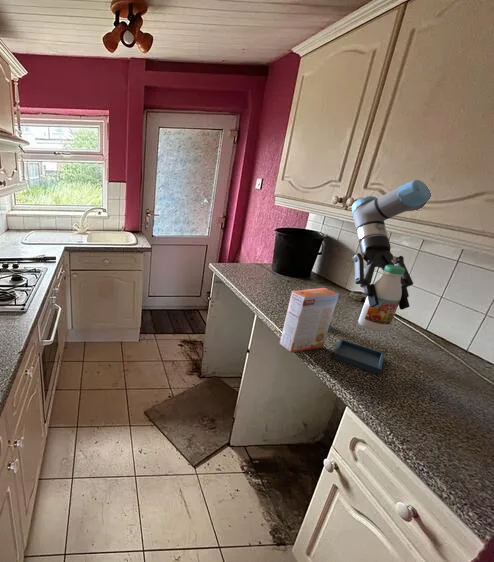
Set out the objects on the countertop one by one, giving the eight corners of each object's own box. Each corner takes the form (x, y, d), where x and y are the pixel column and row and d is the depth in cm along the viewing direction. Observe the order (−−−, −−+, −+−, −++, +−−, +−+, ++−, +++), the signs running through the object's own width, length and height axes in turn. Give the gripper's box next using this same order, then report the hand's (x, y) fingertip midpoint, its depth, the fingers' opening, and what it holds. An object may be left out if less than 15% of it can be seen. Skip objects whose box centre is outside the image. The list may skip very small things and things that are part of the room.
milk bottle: (352, 322, 100) (372, 263, 93) (367, 318, 103) (389, 261, 96) (377, 334, 94) (402, 272, 86) (393, 330, 96) (418, 269, 89)
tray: (382, 357, 104) (384, 352, 104) (379, 374, 96) (381, 369, 95) (339, 343, 112) (340, 338, 111) (332, 358, 103) (334, 352, 103)
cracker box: (309, 339, 114) (325, 286, 106) (323, 348, 109) (341, 293, 101) (277, 343, 111) (291, 289, 103) (290, 353, 105) (306, 297, 98)
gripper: (346, 232, 99) (360, 299, 90) (417, 236, 97) (438, 305, 88) (333, 244, 105) (344, 307, 97) (398, 248, 103) (416, 313, 94)
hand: (389, 306), depth 92 cm, fingers closed on milk bottle, 8 cm apart
